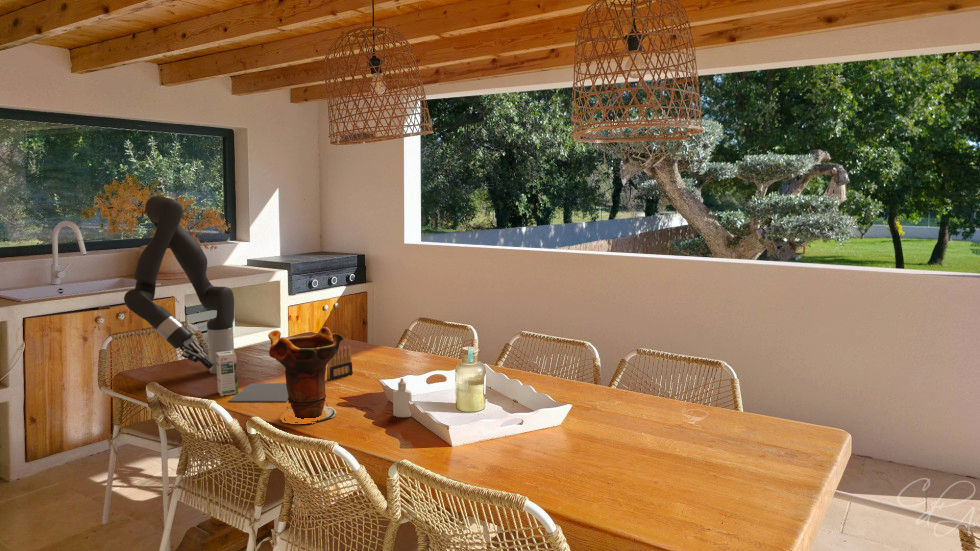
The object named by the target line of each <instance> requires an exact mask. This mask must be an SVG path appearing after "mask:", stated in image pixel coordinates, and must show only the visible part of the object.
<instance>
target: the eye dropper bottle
mask: <svg viewBox="0 0 980 551" xmlns="http://www.w3.org/2000/svg"><path fill="white" fill-rule="evenodd" d="M397 387H398V388H397V389H395V390H394V391H393V393H392V409H393V410H392V411H393V416H394V417H395V416H396V417H397V418H411V416H412V415H411V412H410V409H409V406H408V402H409V401H410V402H412V401H413V400H412V392H411V390H408V389H407V382H406V381H404V378H403V377H401V378H400V380H399V381H398V382H397ZM412 403H413V402H412Z"/></svg>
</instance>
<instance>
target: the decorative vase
mask: <svg viewBox="0 0 980 551" xmlns="http://www.w3.org/2000/svg"><path fill="white" fill-rule="evenodd" d="M281 334H282V333H281V331H280V330H278V329H274V330H272V331H270V332H269V333H268V335H267V337H268V339H269V340H270V348H269V350H268V351H269V352H268V355H269V357H271V358H272V359H274V360H276V361H277V362H279V363H280V364H281V365H282V366H283V367H284V369H285V370H284V376H285V383H286V387H287V392H288V401H287V402H288V405H289V404H290V407H291V409H293V410H290V409H289V410H290V411H289V412H292V411H293V412H294V414H295V417H297V418H301V419H304V418H316V417H319V416H321V415H322V412H323V410H324V411H325V414H326V417H324V418H323V419H321V420H318V422H319V421H325V420H327V419H332V418H333V417H336V416H337V411H336V408H333V407H332V406H328V403H327V402H326V398H327V393H326V373H327V366H328V362H329V361H330V360H331V359H332V358H333V357H334V356H336V353H337V351H338V349H339V350H340V343H341V342H342V341H343V340H344V339H345V337H343V336H342V335H341V334H339V333H334V332H333V333H332V332H331V330H330V328H328V327H326V326H323V327H321V328H319V331H317V332H316V333H315V334H312V335H304V336H303V335H301V336H293V337H287V338H286V337H284V336H283V337H282V336H281ZM325 404H326V405H325ZM286 408H287V409H288V408H289V406H287V407H286ZM285 411H286V412H287V411H288V410H285ZM284 420H285V418H284ZM285 421H286V420H285ZM311 422H317V421H311ZM318 422H317V423H318ZM295 423H298V422H295Z"/></svg>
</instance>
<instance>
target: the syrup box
mask: <svg viewBox="0 0 980 551" xmlns="http://www.w3.org/2000/svg"><path fill="white" fill-rule="evenodd" d="M237 366H238V363H237V354H236V352H235V350H234V351H225V352H217V353H216V368H217V374H216V379H217V380H216V381H217V392H218V394H219V393H220V394H219V396H220V397H224V395H225V396H230V395H236V394H238V393H239V383H238V380H239V379H238V367H237Z"/></svg>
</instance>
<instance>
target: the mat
mask: <svg viewBox="0 0 980 551" xmlns="http://www.w3.org/2000/svg"><path fill="white" fill-rule="evenodd" d="M287 402H289V401H288V392H287V387H286V382H285V383H282V382H281V383H271V382H270V383H269V382H267V383H265V382H264V383H263V382H261V383H255V382H254V383H253V382H252V383H249V384H248V385H247V386H245V387H243V389H242V390H240V391H238V394H234V396H232V397H231V398H230V399H229V400H228V403H287Z"/></svg>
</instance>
